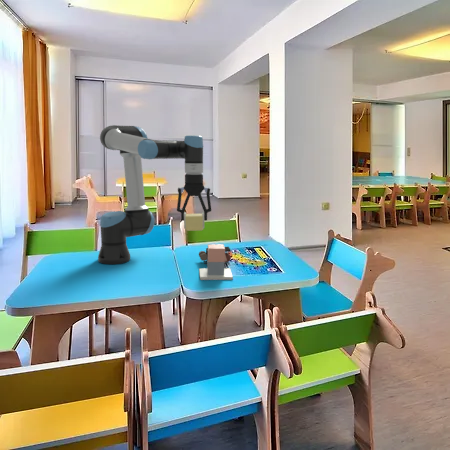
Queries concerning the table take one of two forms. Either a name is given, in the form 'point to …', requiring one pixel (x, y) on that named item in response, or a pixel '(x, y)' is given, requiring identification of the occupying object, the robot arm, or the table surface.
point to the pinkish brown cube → (216, 253)
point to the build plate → (205, 275)
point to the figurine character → (204, 255)
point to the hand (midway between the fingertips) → (194, 227)
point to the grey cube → (215, 268)
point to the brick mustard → (194, 222)
